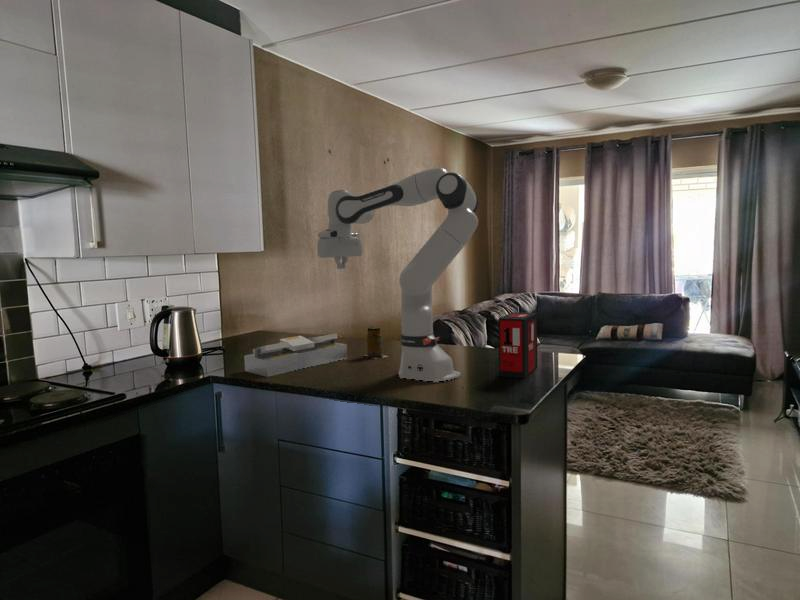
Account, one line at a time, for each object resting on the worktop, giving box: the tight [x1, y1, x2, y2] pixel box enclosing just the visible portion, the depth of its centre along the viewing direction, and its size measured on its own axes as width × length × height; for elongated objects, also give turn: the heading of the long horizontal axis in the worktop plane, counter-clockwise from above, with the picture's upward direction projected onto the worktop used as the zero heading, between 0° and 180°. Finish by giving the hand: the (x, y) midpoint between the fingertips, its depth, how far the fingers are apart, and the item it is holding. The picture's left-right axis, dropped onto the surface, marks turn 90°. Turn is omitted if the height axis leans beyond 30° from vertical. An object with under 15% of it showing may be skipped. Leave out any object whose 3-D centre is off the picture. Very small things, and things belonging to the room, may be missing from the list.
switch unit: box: [243, 338, 348, 378], centre depth 217 cm, size 15×38×9 cm, turn 137°
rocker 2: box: [279, 335, 315, 351], centre depth 216 cm, size 9×10×2 cm
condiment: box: [365, 326, 389, 360], centre depth 228 cm, size 7×8×12 cm
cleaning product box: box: [498, 311, 538, 379], centre depth 194 cm, size 16×9×20 cm, turn 152°
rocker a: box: [308, 332, 339, 342], centre depth 225 cm, size 9×10×2 cm
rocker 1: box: [252, 342, 289, 354], centre depth 208 cm, size 9×10×2 cm
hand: (341, 268), depth 216 cm, fingers closed
